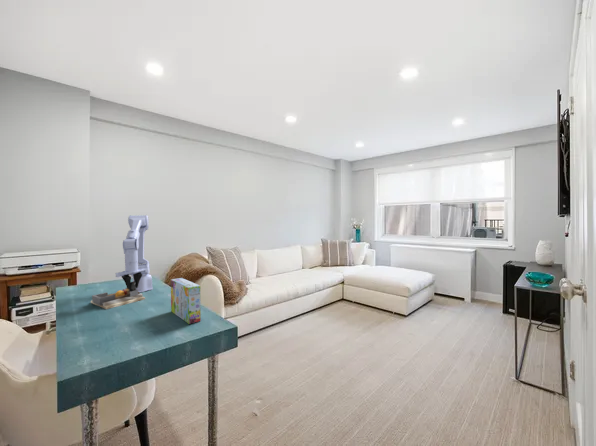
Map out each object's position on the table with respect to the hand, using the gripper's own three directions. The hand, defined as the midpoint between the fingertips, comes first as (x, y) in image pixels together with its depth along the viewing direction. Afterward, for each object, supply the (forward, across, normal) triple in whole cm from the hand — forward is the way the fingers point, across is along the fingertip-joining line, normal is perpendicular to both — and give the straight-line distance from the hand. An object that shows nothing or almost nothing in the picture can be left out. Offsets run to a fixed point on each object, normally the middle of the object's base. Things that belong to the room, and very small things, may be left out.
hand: (132, 288), depth 145 cm
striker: (+5, 0, +4) cm, 6 cm away
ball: (+3, -3, +7) cm, 8 cm away
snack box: (+7, +2, -43) cm, 44 cm away
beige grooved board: (+6, -4, +6) cm, 10 cm away
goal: (+5, -11, +7) cm, 14 cm away
